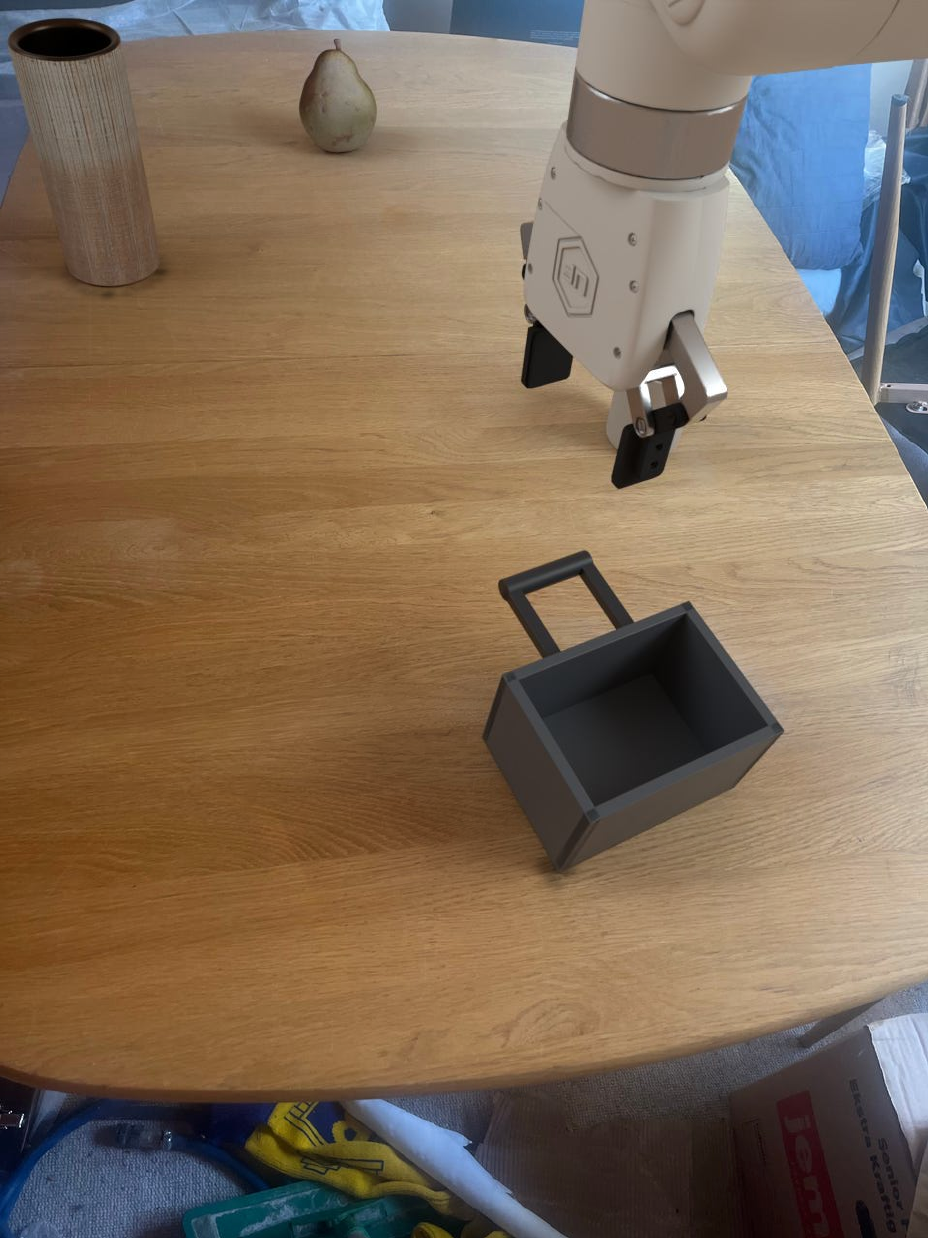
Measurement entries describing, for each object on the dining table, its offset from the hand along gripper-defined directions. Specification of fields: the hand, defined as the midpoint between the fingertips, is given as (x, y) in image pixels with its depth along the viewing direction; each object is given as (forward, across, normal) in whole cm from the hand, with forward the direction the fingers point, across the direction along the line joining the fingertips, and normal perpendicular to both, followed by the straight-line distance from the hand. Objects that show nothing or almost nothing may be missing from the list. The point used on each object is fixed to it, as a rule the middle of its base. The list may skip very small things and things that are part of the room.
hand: (588, 428), depth 56 cm
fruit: (+23, -87, +21) cm, 93 cm away
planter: (+23, -69, -14) cm, 74 cm away
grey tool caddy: (+23, +5, +1) cm, 24 cm away
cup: (+24, -22, +24) cm, 41 cm away
